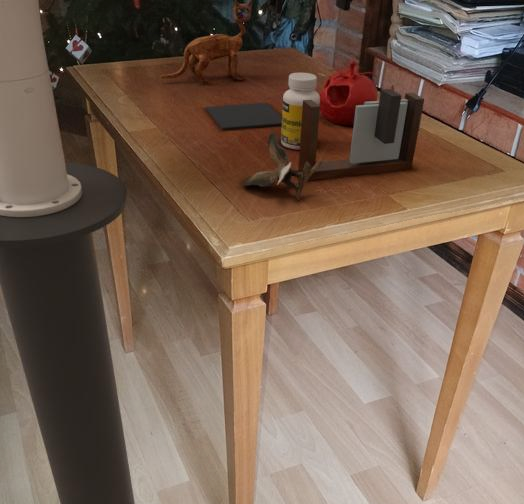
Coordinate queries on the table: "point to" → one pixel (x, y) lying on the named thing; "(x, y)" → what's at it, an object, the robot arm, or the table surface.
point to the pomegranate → (346, 94)
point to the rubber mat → (245, 116)
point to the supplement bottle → (296, 107)
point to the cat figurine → (215, 48)
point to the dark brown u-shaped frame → (344, 166)
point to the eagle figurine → (282, 169)
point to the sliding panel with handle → (378, 129)
